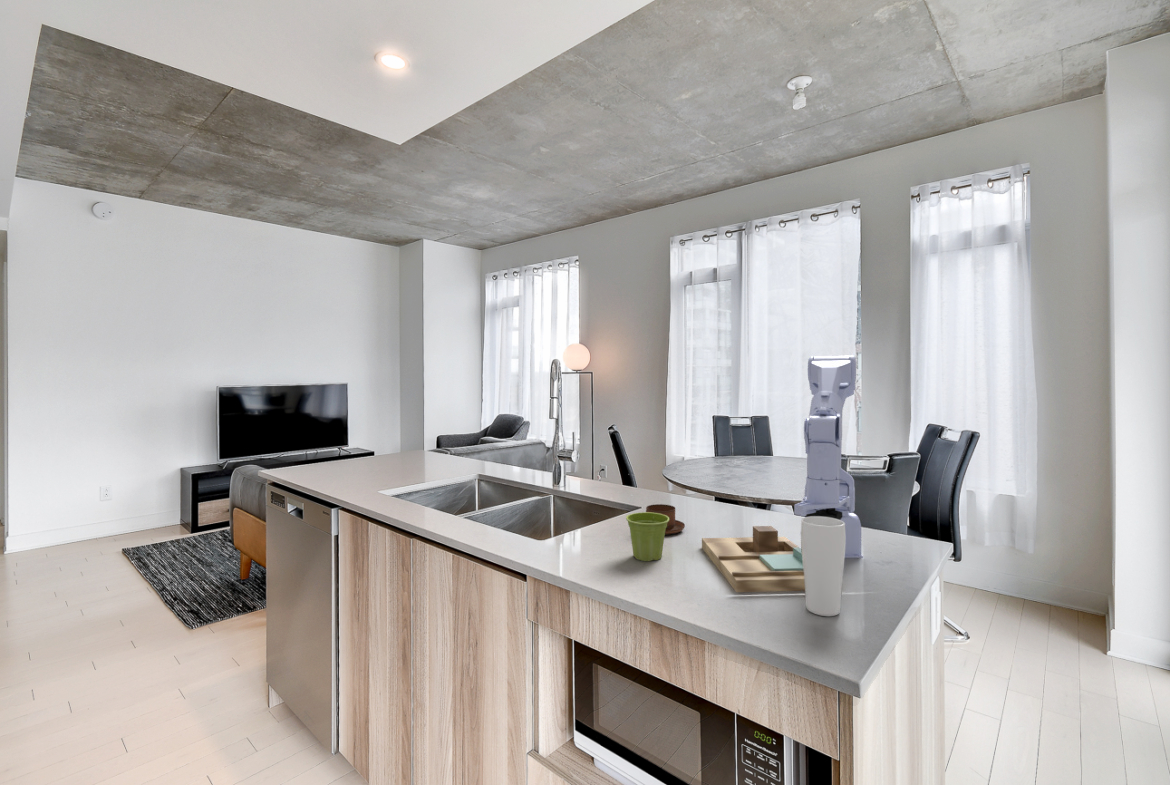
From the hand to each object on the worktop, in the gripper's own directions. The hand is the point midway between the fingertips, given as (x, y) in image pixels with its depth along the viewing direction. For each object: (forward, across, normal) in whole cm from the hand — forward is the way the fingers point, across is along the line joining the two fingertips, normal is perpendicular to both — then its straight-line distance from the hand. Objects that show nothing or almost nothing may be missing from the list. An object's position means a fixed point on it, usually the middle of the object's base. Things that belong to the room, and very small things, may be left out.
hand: (822, 548), depth 106 cm
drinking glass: (+6, +14, +9) cm, 18 cm away
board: (+6, +5, -10) cm, 12 cm away
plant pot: (+6, +20, -28) cm, 35 cm away
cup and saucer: (+6, +5, -42) cm, 43 cm away
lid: (+3, +6, -4) cm, 8 cm away
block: (+5, 0, -14) cm, 15 cm away
